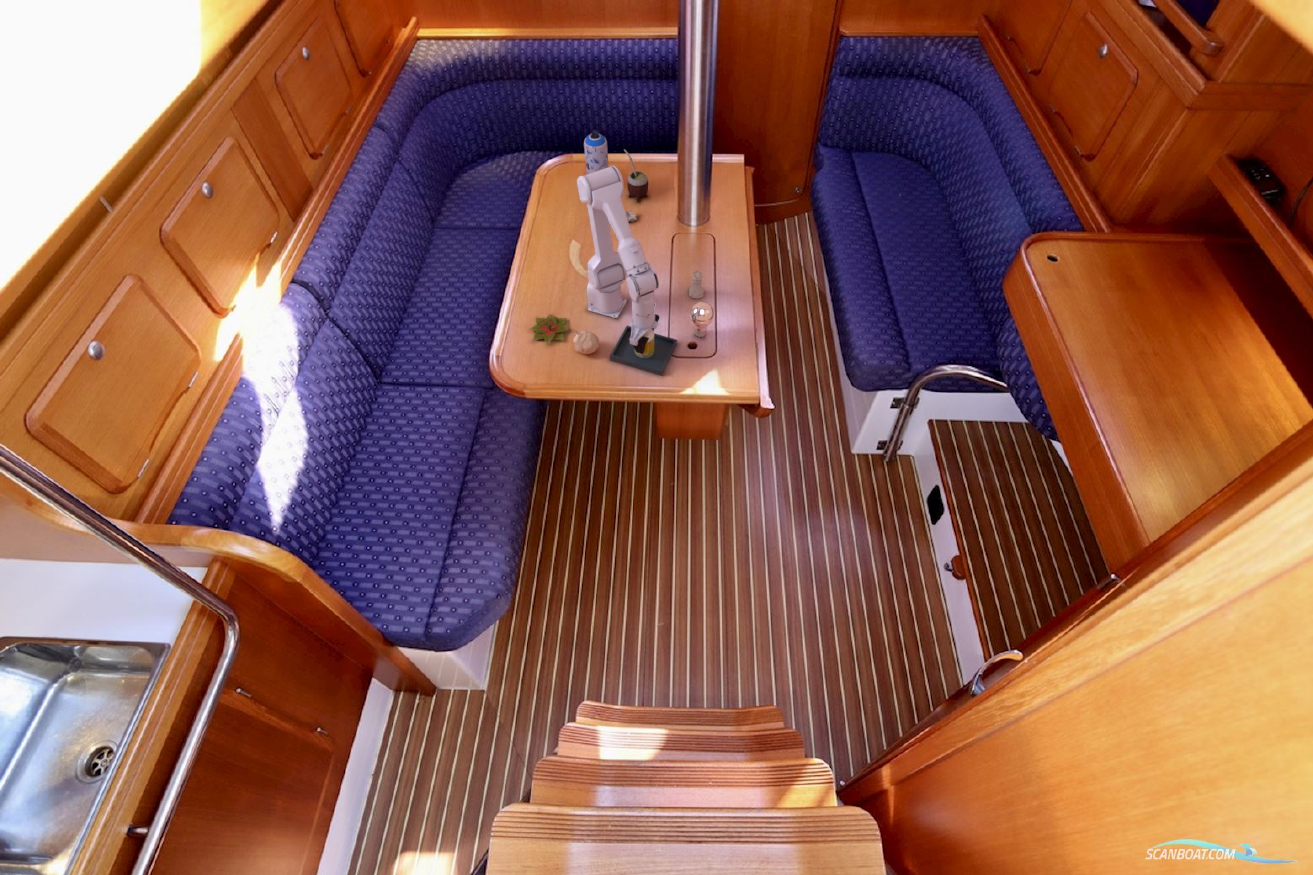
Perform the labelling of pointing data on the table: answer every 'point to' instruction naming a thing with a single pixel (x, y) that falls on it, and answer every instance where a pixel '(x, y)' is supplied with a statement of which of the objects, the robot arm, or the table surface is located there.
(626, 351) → the tray
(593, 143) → the aerosol can
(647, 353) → the supplement bottle
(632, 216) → the toy car
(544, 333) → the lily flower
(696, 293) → the rook chess piece
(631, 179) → the mate gourd
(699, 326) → the light bulb
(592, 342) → the garlic bulb
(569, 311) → the table surface
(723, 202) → the table surface
